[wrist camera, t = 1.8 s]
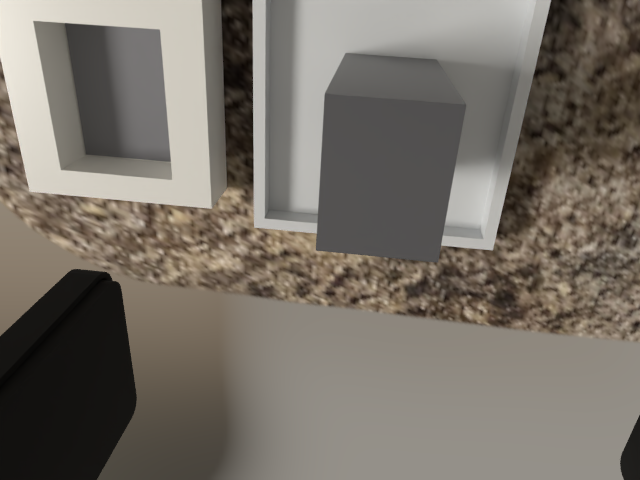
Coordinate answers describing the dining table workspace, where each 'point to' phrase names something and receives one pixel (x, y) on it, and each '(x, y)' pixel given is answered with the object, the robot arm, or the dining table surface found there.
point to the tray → (398, 41)
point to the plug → (387, 157)
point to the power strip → (118, 97)
